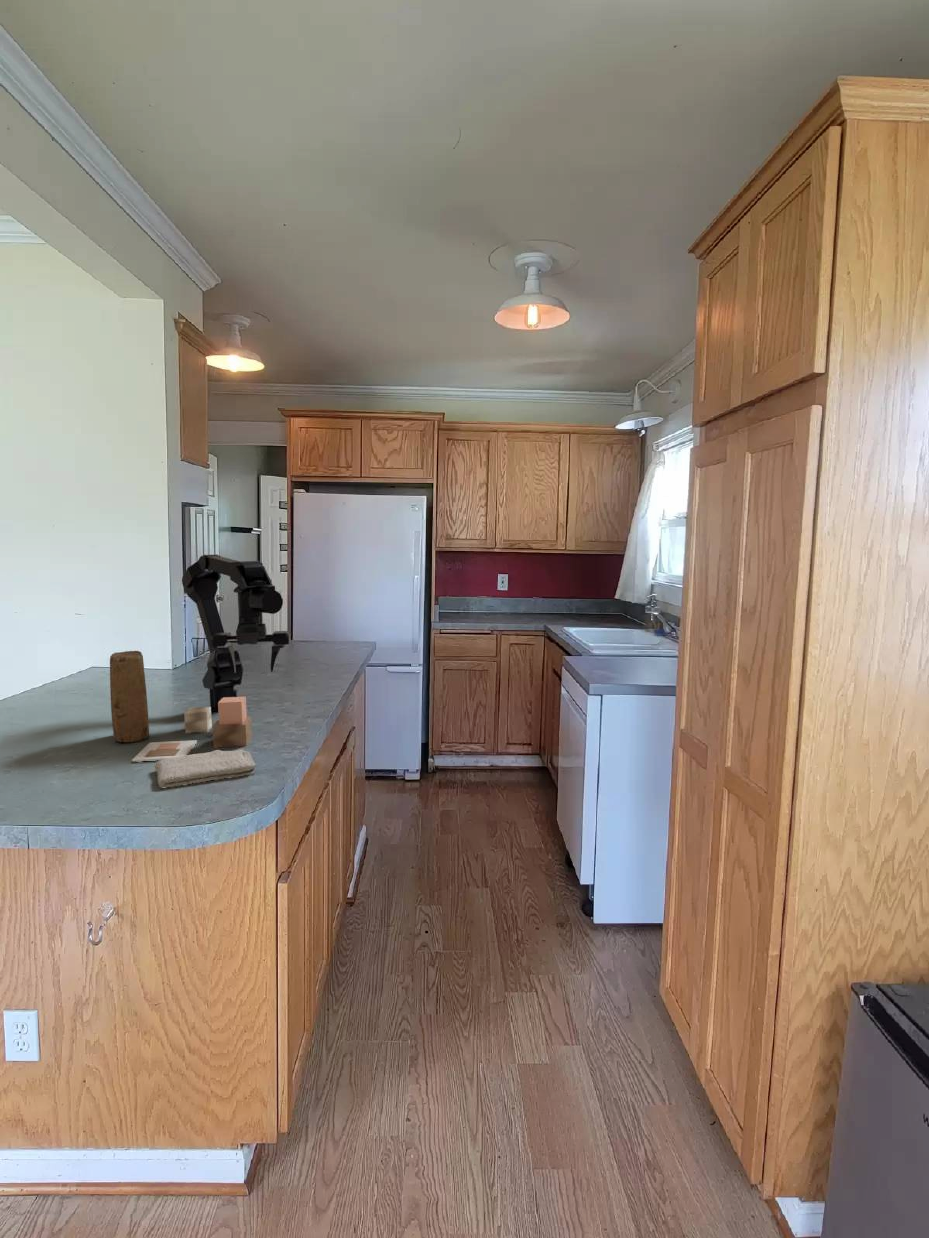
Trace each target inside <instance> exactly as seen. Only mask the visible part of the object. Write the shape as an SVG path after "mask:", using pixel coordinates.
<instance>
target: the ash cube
mask: <svg viewBox="0 0 929 1238" xmlns="http://www.w3.org/2000/svg"><path fill="white" fill-rule="evenodd" d="M183 714H184V732H185V734H192V733H191V732H200V733H208V732H209V731H210V730H211V728H213V723H212V722H213V721H212V711H211V707H210V706H198V707H197V706H196V707H188V709H187V710H186V711H184V712H183ZM209 729H210V730H209ZM189 732H190V733H189Z"/></svg>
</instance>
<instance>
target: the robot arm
mask: <svg viewBox="0 0 929 1238" xmlns="http://www.w3.org/2000/svg"><path fill="white" fill-rule="evenodd" d="M221 575H224V576H228V577H229V579H230V581H231V582H233V583H235V584H236V585H237V586H236V587H235V588H234V589H233V592H234V593H235V594H236V593H237V606H238V607H237V609H238V624H237V626H236V627H237V628H236V631H235V634H233V635H232V633H231V632H225V630H224V626H223V623H222V620H221V616H220V612H219V608H218V605H217V603H216V599H215V597H216V596H217V595H216V594H217V592H218V590H219V589H218V588H219V586H218V582H219V581H220V580H221V578H222V576H221ZM181 584H182V586H183V588H184V591H185V593H186V595H187V597H189V599H191V600H192V602H193V603H195V604H196V608H197V611H198V614H199V618H200V620H201V621H200V623H201V625H202V629H203V632H204V636H205V639H206V643H207V645H208V646H207V647H208V649H209V656H208V658H207V662H206V666H207V667H206V668H207V670H206V672H205V674H204V676H203V678H202V679H201V681H202V686H203V688H204V689H208V691H209V707H211V712H218V702H219V701H220V700H221V699H222V698H223V697H239V690H238V689H236V688H237V687H236V686H238V685H240V686H241V685H242V682H243V681H242V680H243V674H244V667H243V663H242V661H241V657H240V653H239V652H238V650H234V649H235V648H234V644H235V643H236V644H237V645H241V646H242V645H256V644H258V643H260V642H261V643H265V642H266V643H271V642H272V643H273V644H272V645H271V657H270V672H271V673H273V671H274V669H275V666H276V661H277V659H278V655H279V653H280V650H281V649H283V648H285V647H286V645H289V644H290V643H291V642H292V639H291V637H292V635H291V632H290V631H289V630H275V631H274V632H273V633H272V634H267V625H266V623H264V622H263V621H264V619H263V614H270V615H275V614H277V613H279V611H281V610H282V608H283V605H284V598H283V597H282V595H281V593H280V592H279V591H277V590H276V586H275V585H274V584H273V582H272V579H271V578H270V575H269V574H268V572H267V569H266V568H265V566H264V564H263V562H262V561H260V560H245V561H244V560H243V561H241V560H240V561H239V560H235V559H231V558H229V557H225V556H221V555H220V554H203V555H201V556H199V558H198V560H197V561H196V562H194V563H193V564H190V566H188V567H187V569H186V570H185V572H184V573H183V575H182V577H181Z"/></svg>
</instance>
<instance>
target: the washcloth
mask: <svg viewBox="0 0 929 1238" xmlns="http://www.w3.org/2000/svg"><path fill="white" fill-rule="evenodd" d="M257 765H258V763H255V762H254V759H253V757H252V755H251V753H250V752H249V751H245V750H244V749H242V748H240V749H237V750H220V749H216V750H212V751H208V752H203V753H201V752H200V753H193V754H188V755H185V756H180V757H174V758H166V759H163V760H161V761H156V763H155V766H154V769H155V771H156V774H157V780H156V781H157V783H158V787H159V788H160V787H161V788H162V787H171V788H175V787H174V786H178V787H180V786H179V785H183V784H191V785H195V784H194V783H198V784H200V783H199V782H204V783H206V782H205V781H210V780H215V781H219V780H218V779H223V778H228V779H230V778H229V777H236V778H239V777H238V776H243V777H245V776H244V775H250V776H252V775H251V774H254V773H255V772H256V771H255V767H256V766H257ZM255 774H256V773H255ZM223 780H224V779H223ZM210 782H211V781H210ZM192 783H193V784H192ZM172 786H173V787H172ZM161 788H160V789H161Z"/></svg>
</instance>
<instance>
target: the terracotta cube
mask: <svg viewBox="0 0 929 1238" xmlns="http://www.w3.org/2000/svg"><path fill="white" fill-rule="evenodd" d="M246 697H247V696H238V697H223V698H222V699H221V700H220V701H219V702H218V711H217V712H218V719H219V725H227V724H243V722H244V721H245V720H246V718H247V717H248V715H247V713H248V712H247V698H246Z"/></svg>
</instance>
